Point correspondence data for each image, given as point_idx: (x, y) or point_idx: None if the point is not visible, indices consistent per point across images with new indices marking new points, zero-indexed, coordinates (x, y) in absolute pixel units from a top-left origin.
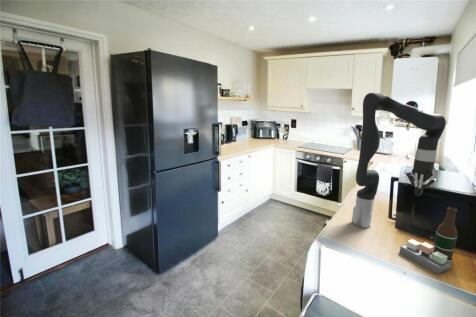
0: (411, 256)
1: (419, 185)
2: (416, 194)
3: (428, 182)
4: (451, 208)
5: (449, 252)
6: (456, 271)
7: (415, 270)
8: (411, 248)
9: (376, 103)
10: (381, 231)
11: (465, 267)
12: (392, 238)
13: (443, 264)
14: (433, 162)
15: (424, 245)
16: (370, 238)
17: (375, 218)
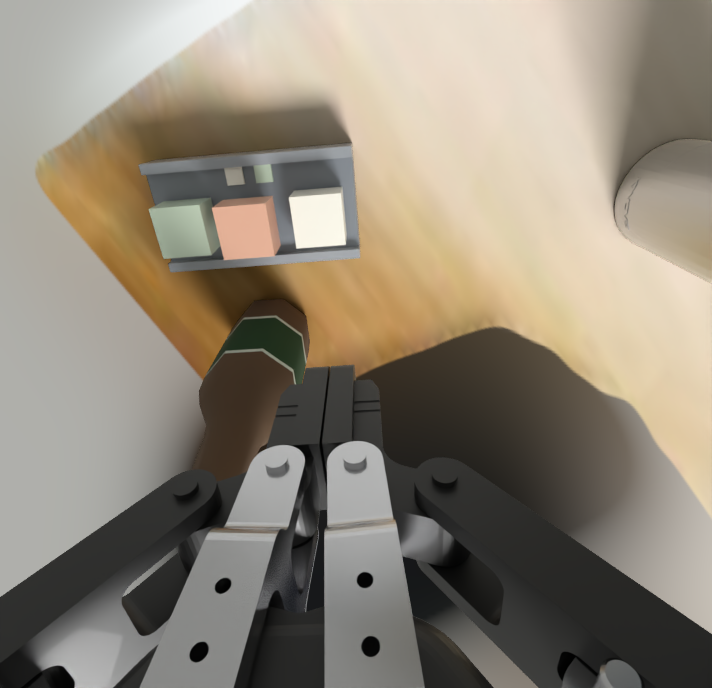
0: (284, 149)
1: (282, 487)
2: (328, 369)
3: (37, 625)
4: None
5: (230, 333)
6: (160, 263)
7: (194, 59)
8: (313, 189)
9: None
10: (543, 243)
11: (179, 327)
12: (464, 236)
13: None
14: None
15: (243, 210)
16: (527, 96)
17: (650, 339)
